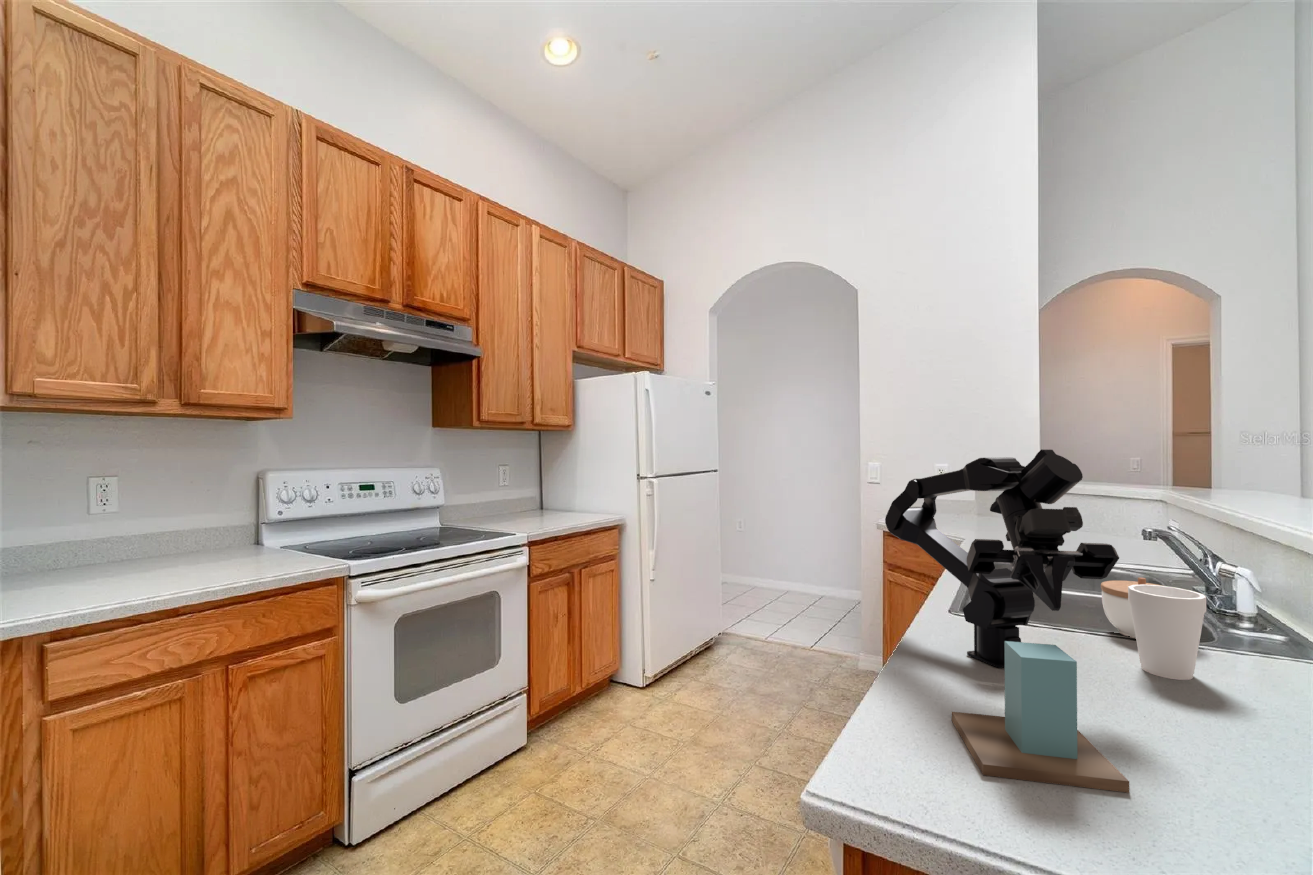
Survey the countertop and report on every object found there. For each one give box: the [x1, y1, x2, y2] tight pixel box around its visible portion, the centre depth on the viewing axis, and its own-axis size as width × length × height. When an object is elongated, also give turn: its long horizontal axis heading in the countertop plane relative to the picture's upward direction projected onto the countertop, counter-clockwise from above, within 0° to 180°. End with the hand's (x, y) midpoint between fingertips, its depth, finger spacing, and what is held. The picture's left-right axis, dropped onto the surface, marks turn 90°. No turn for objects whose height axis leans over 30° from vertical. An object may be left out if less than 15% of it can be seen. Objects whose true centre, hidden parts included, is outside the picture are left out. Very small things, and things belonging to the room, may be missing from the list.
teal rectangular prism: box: [1004, 641, 1078, 759], centre depth 69 cm, size 6×6×11 cm
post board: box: [951, 711, 1130, 794], centre depth 69 cm, size 13×14×5 cm
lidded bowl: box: [1100, 577, 1164, 639], centre depth 111 cm, size 13×13×11 cm
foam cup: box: [1128, 584, 1207, 681], centre depth 93 cm, size 10×9×13 cm
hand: (1056, 609), depth 81 cm, fingers closed
